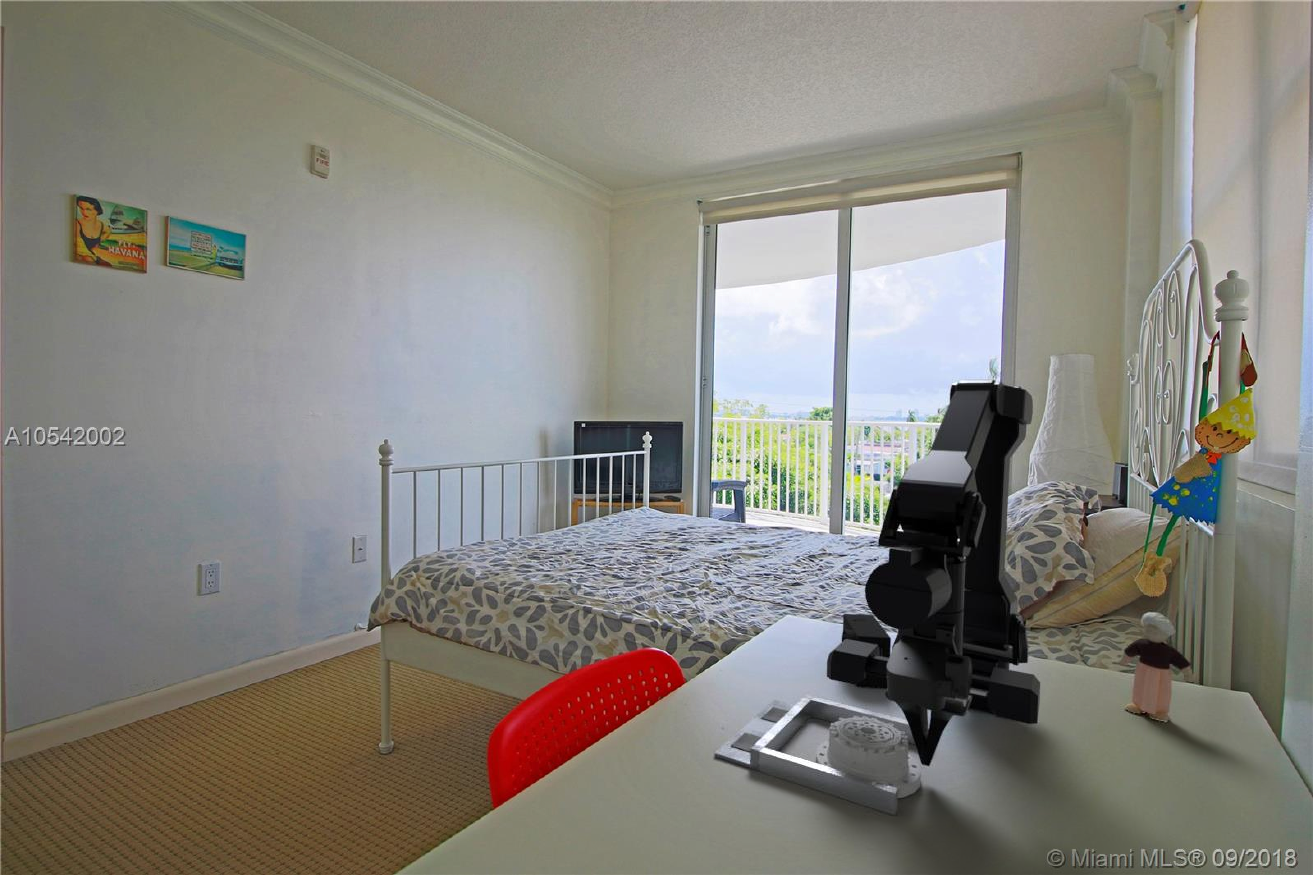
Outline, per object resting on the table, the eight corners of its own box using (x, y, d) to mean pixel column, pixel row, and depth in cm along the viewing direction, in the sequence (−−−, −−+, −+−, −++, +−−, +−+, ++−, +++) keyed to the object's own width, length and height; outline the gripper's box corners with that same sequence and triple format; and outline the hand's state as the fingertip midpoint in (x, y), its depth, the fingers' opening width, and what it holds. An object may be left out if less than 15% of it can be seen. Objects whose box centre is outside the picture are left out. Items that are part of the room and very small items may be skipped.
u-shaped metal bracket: (774, 703, 83) (774, 687, 83) (928, 744, 73) (929, 726, 73) (714, 756, 69) (714, 737, 69) (894, 815, 60) (895, 793, 59)
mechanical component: (816, 794, 63) (929, 810, 61) (818, 748, 63) (930, 762, 61) (814, 744, 73) (911, 756, 71) (815, 704, 73) (913, 715, 71)
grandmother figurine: (1112, 710, 83) (1117, 609, 83) (1118, 701, 86) (1122, 603, 86) (1191, 731, 78) (1196, 623, 77) (1194, 721, 81) (1200, 617, 80)
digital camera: (833, 659, 99) (835, 612, 99) (871, 661, 98) (872, 614, 98) (846, 687, 89) (848, 634, 88) (888, 689, 88) (890, 637, 88)
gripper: (811, 608, 63) (806, 771, 64) (1038, 646, 53) (1031, 839, 54) (844, 585, 73) (840, 727, 73) (1043, 614, 63) (1037, 778, 63)
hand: (926, 764), depth 66 cm, fingers closed
